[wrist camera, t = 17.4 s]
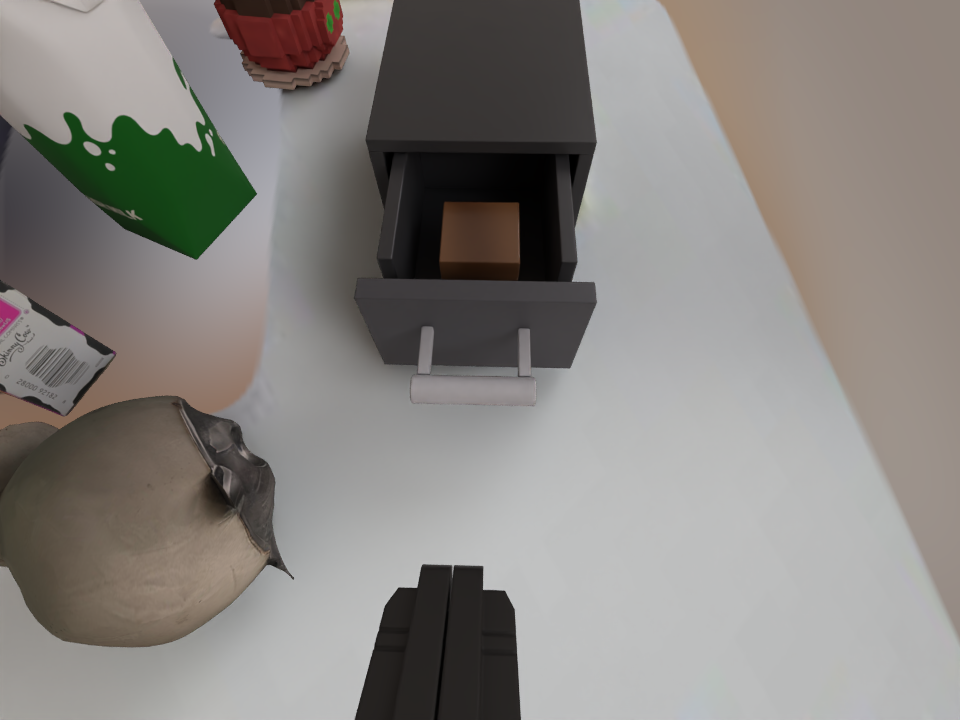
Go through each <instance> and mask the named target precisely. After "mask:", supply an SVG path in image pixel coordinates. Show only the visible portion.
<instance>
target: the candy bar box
mask: <svg viewBox="0 0 960 720" xmlns="http://www.w3.org/2000/svg"><path fill="white" fill-rule="evenodd" d="M115 356H116V352H115V351H113V350H111V349H110V348H108V347H106V346H105V345H103V344H102V343H100V342H98V341H97V340H95V339H93V338H92V337H90V336H88V335H87V334H85V333H84V332H82V331H81V330H79V329H78V328H76V327H74V326H73V325H71V324H70V323H68V322H66V321H65V320H63V319H62V318H60V317H58V316H57V315H55V314H54V313H52V312H50V311H49V310H47V309H45V308H44V307H42V306H41V305H39V304H37V303H36V302H34V301H33V300H31V299H30V298H28V297H27V296H25V295H24V294H22V293H21V292H19V291H17V290H16V289H14V288H12V287H11V286H9V285H7V284H6V283H4V282H3V281H1V280H0V392H2V393H5V394H8V395H10V396H13V397H16V398H18V399H21V400H24V401H26V402H29V403H32V404H34V405H37V406H39V407H42V408H44V409H47V410H49V411H52V412H54V413H56V414H59V415H61V416H67V415H68V414H69V413H70V412H71V411H72V409H73V408H74V407H75V406H76V405H77V403H78V402H79V401H80V400H81V398H82V397H83V396H84V394H85V393H86V392H87V391H88V389H89V388H90V387H91V386H92V384H93V383H94V382H95V381H96V380H97V379H98V378H99V376H100V375H101V374H102V373H103V372H104V370H106V369H107V367H108V366H109V364H110V363H111V362H112V360H113V359H114V357H115Z"/></svg>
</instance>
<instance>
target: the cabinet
mask: <svg viewBox="0 0 960 720" xmlns="http://www.w3.org/2000/svg"><path fill="white" fill-rule="evenodd" d="M366 143H367V147H368V151H369V155H370V158H371V162H372V166H373V169H374V173H375V177H376V180H377V184H378V188H379V192H380V195H381V199H382V203H383V206H384V210H385V204H386V198H387V191H388V185H389V179H390V173H391V167H392V160H393V154H394V152H433V153H515V154H569V164H570V177H571V189H572V201H573V214H574V226H575V225H576V221H577V217H578V213H579V210H580V206H581V202H582V198H583V194H584V190H585V186H586V182H587V178H588V174H589V171H590V167H591V163H592V159H593V154H594V151H595V147H596V143H597V141H596V133H595V125H594V117H593V108H592V100H591V92H590V84H589V75H588V67H587V59H586V51H585V43H584V34H583V26H582V18H581V10H580V1H579V0H394V3H393V8H392V12H391V17H390V22H389V27H388V32H387V37H386V42H385V47H384V52H383V57H382V62H381V66H380V71H379V76H378V81H377V86H376V91H375V96H374V101H373V106H372V111H371V116H370V120H369V125H368V130H367V135H366Z"/></svg>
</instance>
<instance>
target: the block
mask: <svg viewBox="0 0 960 720" xmlns="http://www.w3.org/2000/svg"><path fill="white" fill-rule="evenodd" d="M439 266H440V273H441V280H491V281H518V278H519V269H520V221H519V203H511V202H444V205H443V217H442V229H441V242H440V254H439Z"/></svg>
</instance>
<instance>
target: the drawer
mask: <svg viewBox="0 0 960 720" xmlns="http://www.w3.org/2000/svg"><path fill="white" fill-rule="evenodd" d="M444 202H511V203H519V221H520V269H519V278H518V281H491V280H441V273H440V266H439V254H440V242H441V229H442V217H443V205H444ZM377 261H378V264H379V267H380V270H381V273H382V276H383V278H384V279H382V278H358V279H357V285H356V290H355V296H354V299H355V301H356V303H357V305H358V307H359V310H360V312H361V314H362V316H363V318H364V320H365V323H366V325H367V327H368V329H369V331H370V333H371V335H372V338H373V340H374V342H375V344H376V346H377V348H378V351H379V353H380V355H381V357H382V359H383V361H384V363H385V364H399V365H418V369H417V374H418V375H413V376H412V378H411V383H410V398H411V402H412V403H426V404H468V405H509V406H534V405H535V402H536V380H535V378H534V377H531V367H533V368H570V367H571V365H572V362H573V360H574V357H575V355H576V352H577V350H578V348H579V345H580V343H581V340H582V338H583V335H584V333H585V330H586V328H587V325H588V323H589V320H590V318H591V315H592V313H593V310H594V308H595V306H596V303H597V300H596V290H595V283H594V282H572V279H573V275H574V272H575V268H576V265H577V251H576V238H575V226H574V214H573V201H572V189H571V177H570V164H569V154H515V153H433V152H394V154H393V160H392V167H391V173H390V179H389V185H388V191H387V198H386V204H385V210H384V216H383V222H382V229H381V235H380V241H379V247H378V253H377ZM431 365H443V366H488V367H518V377H498V376H454V375H430V374H431Z"/></svg>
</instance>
